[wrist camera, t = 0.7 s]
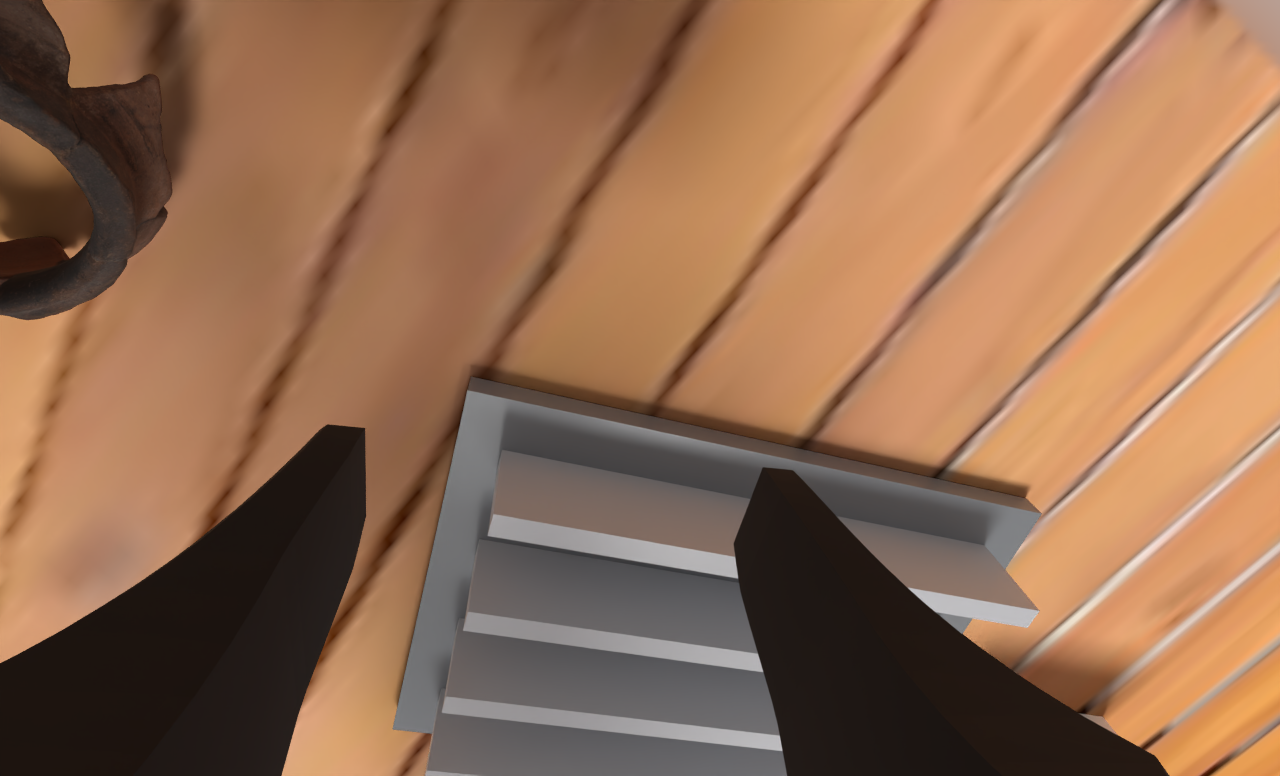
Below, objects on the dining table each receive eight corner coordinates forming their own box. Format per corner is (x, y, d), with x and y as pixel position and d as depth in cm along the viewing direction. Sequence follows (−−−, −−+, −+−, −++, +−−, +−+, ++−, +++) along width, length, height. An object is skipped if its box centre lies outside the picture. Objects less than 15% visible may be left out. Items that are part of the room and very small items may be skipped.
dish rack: (858, 760, 34) (897, 855, 30) (397, 708, 29) (372, 814, 25) (1026, 498, 28) (1105, 576, 24) (470, 376, 23) (452, 448, 19)
